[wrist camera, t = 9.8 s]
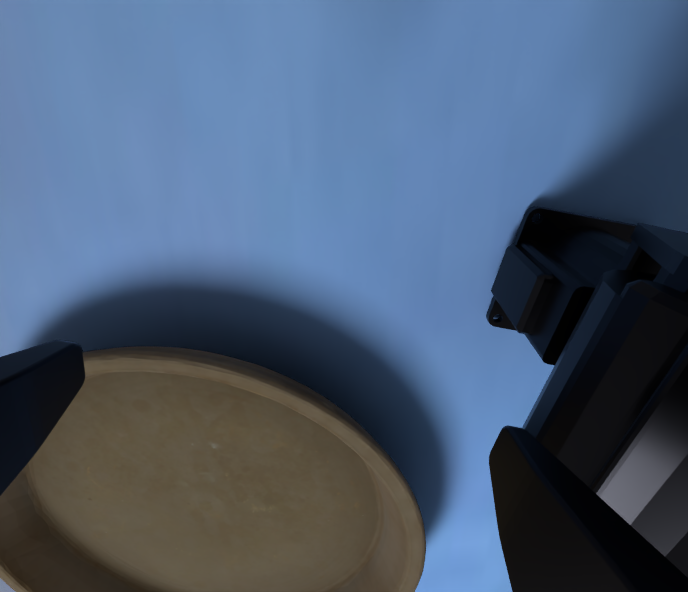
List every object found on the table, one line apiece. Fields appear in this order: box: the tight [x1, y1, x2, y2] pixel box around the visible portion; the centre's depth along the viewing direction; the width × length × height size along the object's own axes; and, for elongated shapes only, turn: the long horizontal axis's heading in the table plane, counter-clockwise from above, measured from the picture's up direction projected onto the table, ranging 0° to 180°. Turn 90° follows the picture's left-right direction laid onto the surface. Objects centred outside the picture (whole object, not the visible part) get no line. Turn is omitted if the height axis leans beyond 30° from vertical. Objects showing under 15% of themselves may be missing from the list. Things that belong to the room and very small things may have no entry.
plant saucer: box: [0, 346, 426, 592], centre depth 28 cm, size 31×31×5 cm
